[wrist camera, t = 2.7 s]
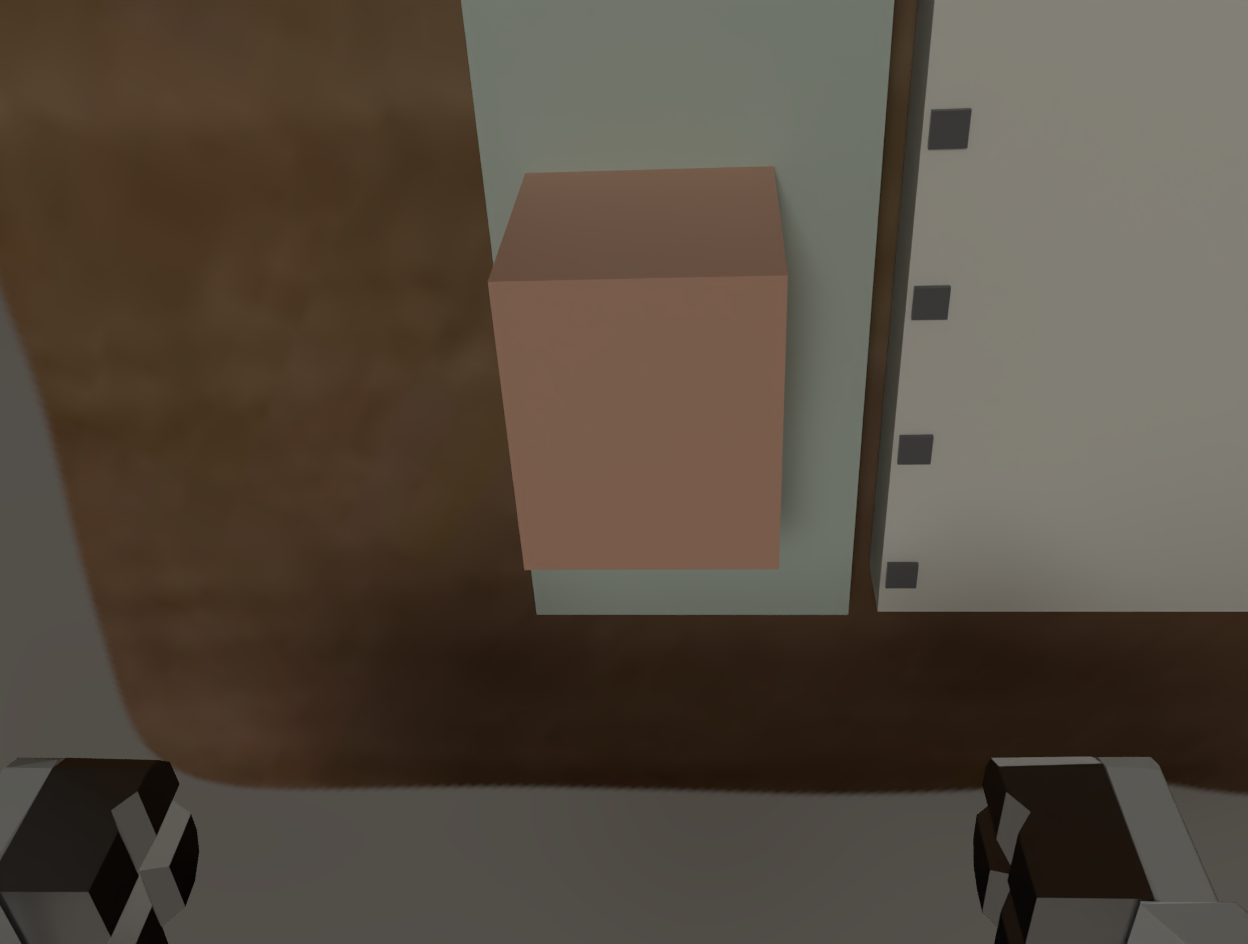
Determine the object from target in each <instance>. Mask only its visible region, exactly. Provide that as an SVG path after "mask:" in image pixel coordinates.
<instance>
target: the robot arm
mask: <svg viewBox="0 0 1248 944" xmlns="http://www.w3.org/2000/svg"><path fill="white" fill-rule="evenodd" d="M982 785H983V789H984V793H985V797H986V800H987V804H988V806H987V807H986V808H985V809H984V810H982V811H981V812H980V813H979V814H977V817H976V824H975V831H974V839H973V843H974V844H973V845H974V871H975V878H976V885H977V891H978V895H979V900H980V904H981V908H982V912H983V913H984V914H985V915H986V916H987V917H988V918H989V919H990V920H991V921H992V922H993V923H994V924H995V925H996V926H997V927H998V928H997V933H996V938H995V943H994V944H1248V912H1247V911H1245V910H1244V909H1243V908H1242V907H1240V906H1239V905H1238V904H1237V903H1234V902H1219V901H1218V899H1217V896H1216V894H1215V892H1214V889H1213V888H1212V885H1211V882H1210V880H1209V878H1208V876H1207V874H1206V871H1205V869H1204V866H1203V864H1202V862H1201V860H1200V858H1199V855H1198V853H1197V851H1196V848H1195V846H1194V844H1193V841H1192V839H1191V837H1190V835H1189V832H1188V830H1187V828H1186V825H1185V823H1184V821H1183V819H1182V816H1181V814H1180V812H1179V809H1178V807H1177V805H1176V803H1175V800H1174V798H1173V796H1172V793H1171V791H1170V789H1169V787H1168V784H1167V782H1166V780H1165V777H1164V775H1163V773H1162V771H1161V768H1160V766H1159V765H1158V764H1157V763H1156V762H1155V761H1154V760H1153V759H1152V758H1151V757H1097V758H1093V757H1021V758H991V759H990V760H989V762H988V764H987V765H986V769H985V774H984V779H983V784H982ZM178 786H179V782H178V779H177V777H176V775H175V773H174V770H173V768H172V766H171V764H170V762H167V761H161V760H132V759H92V758H19V757H18V758H17V759H16V760H14V761H13V762H11V763H10V764H9V765H7V766H6V767H5V768H4V769H3V770H2V771H1V773H0V944H168V941H167V939H166V936H165V933H164V930H163V928H162V926H163V925H165V924H166V923H167V922H168V921H169V920H170V919H172V918H173V917H174V916H175V915H176V914H177V913H179V912H180V911H181V910H182V909H183V908H184V907H185V906H186V904H187V901H188V898H189V895H190V893H191V890H192V887H193V885H194V882H195V877H196V870H197V863H198V856H199V845H198V836H197V829H196V826H195V824H194V821H193V818H192V815H191V813H189V812H188V811H187V810H185V809H184V808H183V807H181V806H180V805H178V804H177V803H176V802H174V801H173V798H174V795H175V793H176V791H177V789H178Z"/></svg>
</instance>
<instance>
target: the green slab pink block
mask: <svg viewBox="0 0 1248 944" xmlns="http://www.w3.org/2000/svg"><path fill="white" fill-rule="evenodd" d="M461 4H462V12H463V20H464V28H465V36H466V44H467V52H468V61H469V69H470V77H471V85H472V93H473V101H474V109H475V117H476V126H477V134H478V142H479V150H480V158H481V166H482V174H483V182H484V191H485V199H486V207H487V215H488V223H489V231H490V239H491V247H492V256H493V264H494V265H493V268H492V271H491V274H490V277H489V280H488V288H489V295H490V303H491V311H492V319H493V327H494V335H495V343H496V350H497V358H498V366H499V374H500V382H501V390H502V398H503V405H504V413H505V421H506V429H507V437H508V445H509V453H510V460H511V468H512V476H513V484H514V492H515V500H516V508H517V516H518V523H519V531H520V539H521V547H522V555H523V563H524V570H531V573H532V581H533V589H534V597H535V605H536V613H537V615H848V610H849V597H850V584H851V570H852V557H853V544H854V530H855V517H856V504H857V491H858V477H859V464H860V451H861V437H862V424H863V411H864V398H865V384H866V371H867V358H868V344H869V331H870V318H871V305H872V291H873V278H874V265H875V251H876V238H877V225H878V211H879V198H880V185H881V172H882V158H883V145H884V132H885V118H886V105H887V92H888V79H889V65H890V52H891V39H892V25H893V12H894V0H461Z"/></svg>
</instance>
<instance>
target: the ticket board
mask: <svg viewBox="0 0 1248 944" xmlns="http://www.w3.org/2000/svg"><path fill="white" fill-rule="evenodd" d="M869 566H870V572H871V578H872V584H873V589H874V595H875V601H876V606H877V612H1248V0H918V3H917V15H916V26H915V38H914V50H913V61H912V73H911V84H910V96H909V108H908V119H907V131H906V143H905V154H904V166H903V178H902V189H901V201H900V212H899V224H898V236H897V247H896V259H895V271H894V282H893V294H892V306H891V317H890V329H889V341H888V352H887V364H886V375H885V387H884V399H883V410H882V422H881V434H880V445H879V457H878V469H877V480H876V492H875V503H874V515H873V527H872V538H871V550H870V562H869Z"/></svg>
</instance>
